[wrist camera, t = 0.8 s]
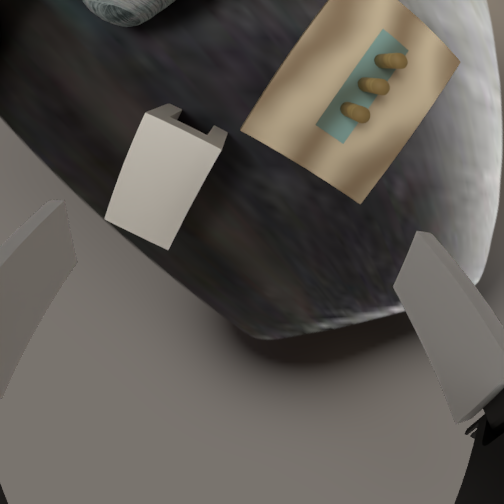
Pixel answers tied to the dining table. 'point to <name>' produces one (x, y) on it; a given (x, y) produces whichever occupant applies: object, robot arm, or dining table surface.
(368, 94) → the wooden peg board
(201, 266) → the dining table surface
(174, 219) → the white block
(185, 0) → the dining table surface
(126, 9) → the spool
